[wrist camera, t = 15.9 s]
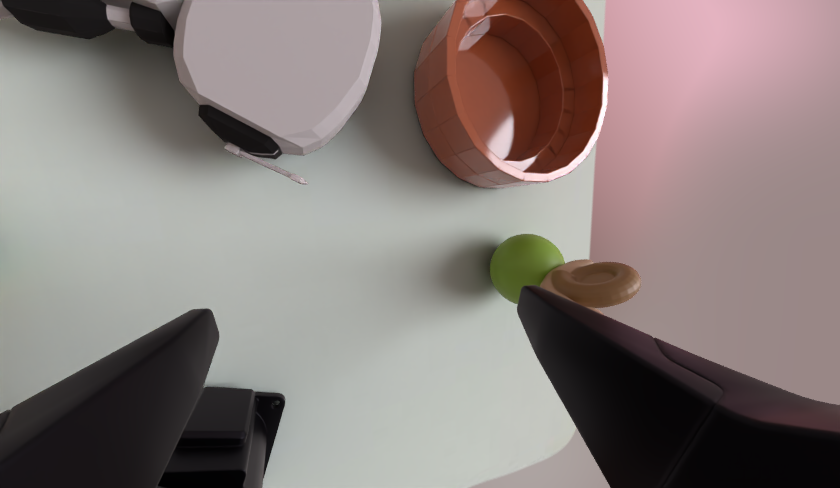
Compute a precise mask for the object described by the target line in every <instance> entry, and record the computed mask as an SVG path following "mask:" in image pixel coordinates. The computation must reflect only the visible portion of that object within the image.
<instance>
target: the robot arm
mask: <svg viewBox="0 0 840 488" xmlns="http://www.w3.org/2000/svg"><path fill="white" fill-rule="evenodd" d="M517 312H518V315H519V318H520V320H521V322H522V325H523V327H524V329H525V331H526V334H527V336H528V338H529V341H530V343H531V345H532V348H533V350H534V352H535V354H536V356H537V358H538V360H539V362H540V364H541V365H542V367H543V369H544V371H545V372H546V374H547V376H548V378H549V379H550V381H551V383H552V385H553V387H554V388H555V390H556V392H557V394H558V395H559V397H560V399H561V401H562V402H563V404H564V406H565V408H566V409H567V411H568V413H569V415H570V417H571V418H572V420H573V422H574V424H575V425H576V427H577V429H578V431H579V432H580V434H581V436H582V438H583V439H584V441H585V443H586V445H587V447H588V448H589V450H590V452H591V454H592V455H593V457H594V459H595V461H596V462H597V464H598V466H599V468H600V469H601V471H602V473H603V475H604V476H605V478H606V480H607V482H608V484H609V485H610V487H611V488H840V405H836V404H829V403H825V402H820V401H815V400H812V399H809V398H805V397H802V396H799V395H796V394H794V393H791V392H788V391H786V390H783V389H781V388H778V387H775V386H773V385H770V384H768V383H765V382H763V381H760V380H757V379H755V378H752V377H750V376H747V375H745V374H742V373H740V372H737V371H734V370H732V369H729V368H727V367H724V366H722V365H719V364H717V363H714V362H712V361H709V360H707V359H704V358H702V357H699V356H697V355H694V354H692V353H689V352H687V351H685V350H683V349H680V348H678V347H676V346H673V345H671V344H669V343H666V342H664V341H661V340H659V339H657V338H653V337H652V336H650V335H648V334H645V333H643V332H641V331H639V330H637V329H634V328H632V327H630V326H627V325H625V324H623V323H621V322H618V321H616V320H614V319H612V318H609V317H607V316H604V315H603V314H600V313H598V312H596V311H593V310H591V309H589V308H587V307H584V306H582V305H580V304H578V303H575V302H573V301H571V300H568V299H566V298H564V297H562V296H559V295H557V294H555V293H553V292H550V291H548V290H546V289H543V288H541V287H539V286H537V285H527V286H523V287H522V288H521V291H520V296H519V301H518V306H517ZM218 341H219V331H218V328H217V325H216V322H215V318H214V315H213V313H212V311H211V310H210V309H193V310H190V311H188V312H187V313H185V314H183V315H181V316H179V317H177V318H176V319H174V320H172V321H170V322H168V323H166V324H165V325H163V326H161V327H159V328H157V329H155V330H154V331H152V332H150V333H148V334H146V335H144V336H143V337H141V338H139V339H137V340H135V341H133V342H132V343H130V344H128V345H126V346H124V347H122V348H121V349H119V350H117V351H115V352H113V353H111V354H110V355H108V356H106V357H104V358H102V359H100V360H98V361H97V362H95V363H93V364H91V365H89V366H87V367H86V368H84V369H82V370H80V371H78V372H76V373H75V374H73V375H71V376H69V377H67V378H65V379H64V380H62V381H60V382H58V383H56V384H54V385H53V386H51V387H49V388H47V389H45V390H43V391H42V392H40V393H38V394H36V395H34V396H32V397H31V398H29V399H27V400H25V401H23V402H21V403H20V404H18V405H16V406H14V407H13V408H12V410H7V411H5V412H3V413H1V414H0V488H262V484H263V478H264V475H265V471H266V468H267V464H268V461H269V457H270V454H271V450H272V447H273V443H274V440H275V437H276V433H277V430H278V426H279V423H280V419H281V416H282V412H283V409H284V406H285V397H284V395H282V394H280V393H265V392H254V391H253V390H252V389H237V388H220V387H205V388H203V385H204V382H205V379H206V376H207V373H208V371H209V368H210V365H211V362H212V359H213V356H214V353H215V350H216V347H217V344H218ZM202 388H203V389H202ZM274 401H280V403H279V404H278V405H274V404H272V403H273V402H274Z"/></svg>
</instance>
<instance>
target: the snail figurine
mask: <svg viewBox="0 0 840 488" xmlns="http://www.w3.org/2000/svg"><path fill="white" fill-rule="evenodd" d="M490 275H491V279H492V282H493V284H494V286H495V288H496V289H497V291H498V292H499V293H500V294H501V295H502V296H503V297H504V298H506V299H507V300H509V301H511V302H513V303H515V304H518V301H519V296H520V291H521V288H522V287H523V286H527V285H537V286H539V287H541V288H543V289H546V290H548V291H550V292H553V293H555V294H557V295H559V296H562V297H564V298H566V299H568V300H571V301H573V302H575V303H578V304H580V305H582V306H584V307H587V308H589V309H591V310H593V311H596V312H598V313H600V314H603V313H602V312H601V311H599V310H598V309H595V308H603V307H609V306H614V305H617V304H620V303H623V302H625V301H627V300H629V299H631V298H632V297H633V296H634V295H635V294H636V293H637V292H638V291H639V289H640V286H641V278H640V276H639V274H638V272H637V271H636V270H634V269H633V268H632V267H630V266H627V265H625V264H621V263H616V262H600V263H593V261H591V260H575V261H571V262H568V263H565V262H564V259H563V256H562V254H561V253H560V251H559V250H558V248H557V247H556V246H555V245H554V244H553V243H551V242H550V241H549V240H547V239H545V238H543V237H541V236H537V235H533V234H521V235H516V236H513V237H511V238H509V239H507V240H505V241H504V242H503V243H501V244H500V245H499V246H498V248H497V249H496V250H495V252H494V254H493V256H492V259H491V263H490Z"/></svg>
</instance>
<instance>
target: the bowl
mask: <svg viewBox="0 0 840 488" xmlns="http://www.w3.org/2000/svg"><path fill="white" fill-rule="evenodd" d="M414 93H415V108H416V111H417V115H418V118H419V122H420V125H421V128H422V132H423V135H424V137H425V138H426V140H427V142H428V143H429V145H430V146H431V148H432V150H433V151H434V153H435V155H436V156H437V158H438V159H439V161H440V162H441V163H443V164H444V165H445V166H446V167H447V168H448V169H449V170H450V171H451V172H453V173H454V174H455V175H456V176H457V177H458V178H460V179H462V180H464V181H467V182H469V183H472V184H474V185H476V186H479V187H482V188H507V187H514V186H521V185H530V184H538V183H545V182H549V181H552V180H554V179H557V178H559V177H562V176H564V175H567V174H569V173H570V172H571V171H572V170H574V169H575V168H576V167H577V166H578V165H579V164H580V163H581V162H582V161H583V160H584V159H585V158H586V157H587V156H588V154H589V152H590V151H591V149H592V147H593V145H594V144H595V142H596V140H597V138H598V136H599V134H600V131H601V127H602V123H603V119H604V116H605V112H606V108H607V96H608V71H607V64H606V58H605V52H604V46H603V43H602V40H601V37H600V35H599V32H598V29H597V26H596V24H595V21H594V18H593V16H592V14H591V12H590V11H589V9H588V8H587V6H586V5H585V3H584V1H583V0H455V1H454V2H453V3H452V4H451V6H450V7H449V8H448V10H447V11H446V12H445V14H444V15H443V16H442V17H441V19H440V20H439V21H438V23H437V24H436V25H435V27H434V28H433V30H432V31H431V32H430V34H429V35H428V37H427V38H426V39H425V41H424V42H423V44H422V47H421V50H420V54H419V57H418V61H417V64H416V68H415V71H414Z"/></svg>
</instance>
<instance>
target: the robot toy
mask: <svg viewBox="0 0 840 488" xmlns="http://www.w3.org/2000/svg"><path fill="white" fill-rule="evenodd" d="M10 17H15V18H16V19H17V20H18V21H19V22H20V23H22V24H24V25H26V26H29V27H31V28H33V29H35V30H38V31H44V32H50V33H56V34H62V35H67V36H73V37H79V38H85V39H91V38H94V37H97V36H100V35H102V34H105V33H107V32H109V31H111V30H113V29H116V28H119V29H124V30H129V31H135V32H136V34H137V35H138V36H139V37H140V38H141V39H142V40H143V41H145V42H147V43H149V44H155V45H160V46H166V47H172V48H174V61H175V65H176V69H177V73H178V77H179V81H180V83H181V84H182V85H183V86H184V87H185V88H186V90H187V91H188V92H189V93H190V94H191V95H192V97H193V98H194V99H195V100H196V101H197V103H198V104H199V116H200V117H201V118H202V120H203V121H204V122H205V123H206V124H207V125H208V126H209V128H210V129H211V130H212V131H213V132H214V133H216V134H217V135H218V136H219V137H220V138H221V139H222V140H223V141H224V142H226V145H225V147H224V149H226V150H227V151H229V152H230V153H232V154H235V155H237V156H239V157H241V158H242V156H244V157H246V158H248V159H250V160H252V161H255V162H257V163H259V164H261V165H263V166H265V167H268V168H270V169H272V170H274V171H276V172H278V173H281V174H283V175H285V176H287V177H289V178H291V179H292V180H294V181H296V182H298V183H300V184H308V183H307V182H306V181H305V180H304V179H303V178H302V177H300V176H298V175H296V174H293V173H292V174H291V173H289V172H287V171H285V170H283V169H280V168H278V167H276V166H274V165H272V164H270V163H267V162H265V161H263V160H261V159H259V158H257V157H264V158H272V159H277V158H278V157H279V156H280V155H281V154H282V153H283V154H293V155H303V156H304V155H306V154H308V153H311V152H313V151H315V150H317V149H320V148H321V147H323V146H324V145H325V144H327V143H328V142H329V141H330V140H331V139H332V138H333V137H334V136H335V135H336V134H337V133H338V132H339V131H340V130H341V129H342V127H343V126H344V125H345V123H346V122H347V121H348V119H349V118H350V117H351V115H352V114H353V112H354V111H355V110H356V108H357V107H358V106H359V104H360V103H361V102H362V99H363V96H364V94H365V91H366V89H367V86H368V83H369V79H370V76H371V73H372V69H373V66H374V63H375V59H376V56H377V53H378V47H379V41H380V35H381V15H380V9H379V3H378V0H0V19H1V20H2V19H6V18H10ZM254 156H257V157H254Z"/></svg>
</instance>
